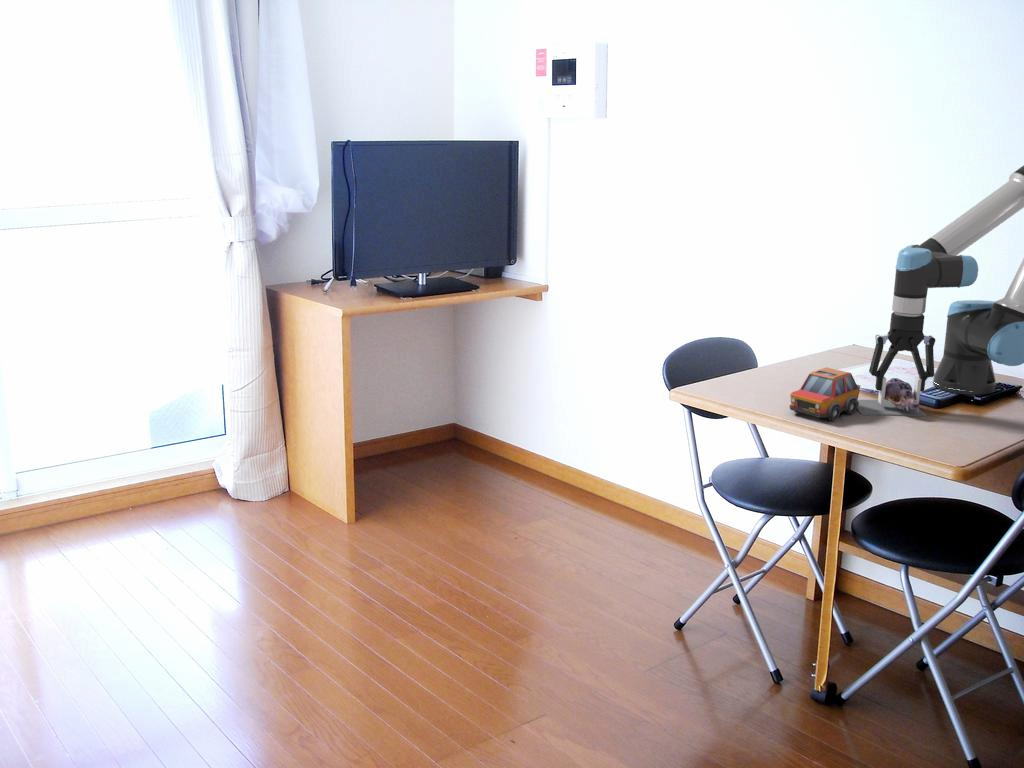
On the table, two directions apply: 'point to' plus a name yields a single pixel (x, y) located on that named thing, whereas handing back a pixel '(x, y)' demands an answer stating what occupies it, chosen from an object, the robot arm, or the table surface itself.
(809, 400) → the toy car
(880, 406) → the chock mat
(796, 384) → the table surface
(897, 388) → the skull
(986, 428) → the table surface
